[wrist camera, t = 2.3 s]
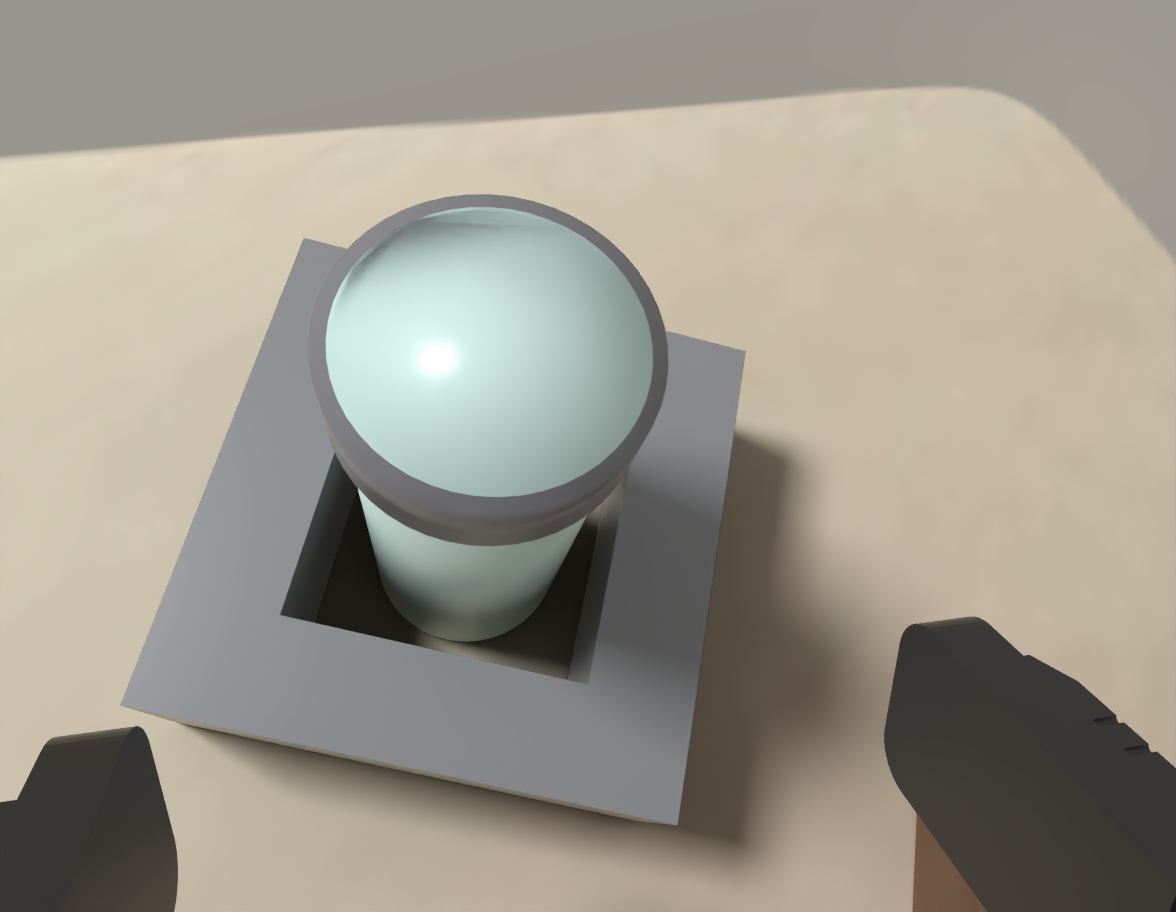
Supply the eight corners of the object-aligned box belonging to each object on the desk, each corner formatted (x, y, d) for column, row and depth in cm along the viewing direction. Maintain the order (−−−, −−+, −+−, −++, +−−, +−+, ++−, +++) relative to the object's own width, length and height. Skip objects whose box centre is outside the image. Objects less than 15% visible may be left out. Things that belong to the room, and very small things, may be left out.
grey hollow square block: (177, 722, 18) (119, 705, 15) (323, 322, 22) (303, 237, 18) (635, 821, 18) (677, 825, 15) (701, 416, 22) (745, 351, 19)
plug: (343, 625, 19) (255, 462, 10) (399, 443, 21) (369, 158, 12) (541, 670, 19) (635, 553, 10) (580, 486, 21) (692, 243, 12)
